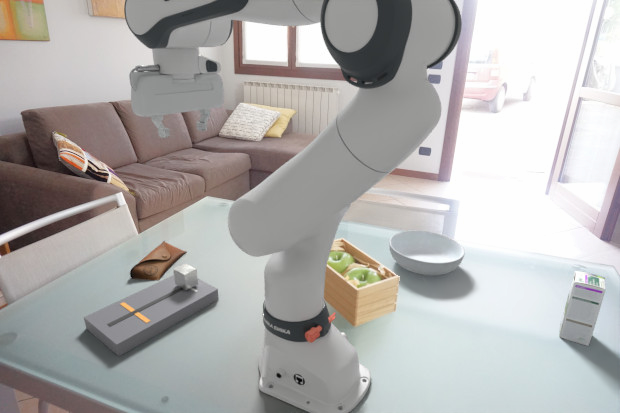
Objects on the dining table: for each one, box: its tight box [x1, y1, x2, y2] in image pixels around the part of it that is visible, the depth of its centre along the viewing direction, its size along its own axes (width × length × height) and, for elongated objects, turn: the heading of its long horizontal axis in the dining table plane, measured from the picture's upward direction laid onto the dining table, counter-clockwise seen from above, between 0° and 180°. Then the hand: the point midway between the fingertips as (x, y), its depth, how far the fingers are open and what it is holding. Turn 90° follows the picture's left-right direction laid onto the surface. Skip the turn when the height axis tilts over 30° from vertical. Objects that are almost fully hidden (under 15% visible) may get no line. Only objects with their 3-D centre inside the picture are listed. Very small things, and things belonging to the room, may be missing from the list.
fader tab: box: [173, 263, 199, 290], centre depth 101 cm, size 4×4×4 cm
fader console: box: [83, 274, 220, 357], centre depth 96 cm, size 14×26×3 cm, turn 142°
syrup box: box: [559, 270, 606, 347], centre depth 89 cm, size 6×6×14 cm
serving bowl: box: [388, 229, 465, 276], centre depth 118 cm, size 21×21×7 cm
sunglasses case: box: [129, 240, 187, 282], centre depth 118 cm, size 18×7×7 cm
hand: (184, 133), depth 86 cm, fingers open, 8 cm apart
